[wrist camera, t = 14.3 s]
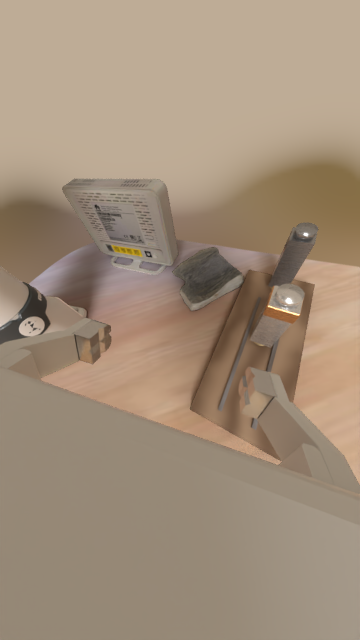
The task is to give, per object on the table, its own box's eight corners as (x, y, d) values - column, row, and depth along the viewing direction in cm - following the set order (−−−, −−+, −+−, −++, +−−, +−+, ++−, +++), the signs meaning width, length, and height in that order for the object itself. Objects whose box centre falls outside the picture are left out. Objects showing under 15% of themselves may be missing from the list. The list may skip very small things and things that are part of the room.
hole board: (190, 409, 29) (189, 408, 27) (247, 275, 43) (249, 267, 41) (276, 458, 24) (283, 462, 22) (309, 290, 38) (316, 282, 36)
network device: (182, 257, 50) (170, 174, 33) (171, 278, 46) (149, 196, 29) (114, 246, 58) (76, 174, 41) (99, 263, 54) (50, 192, 37)
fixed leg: (266, 289, 37) (292, 233, 26) (270, 278, 39) (296, 220, 28) (284, 293, 36) (319, 236, 25) (287, 281, 38) (321, 223, 26)
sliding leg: (248, 342, 31) (270, 299, 20) (253, 325, 33) (277, 278, 22) (269, 349, 30) (305, 309, 19) (274, 332, 32) (310, 285, 21)
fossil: (214, 254, 49) (214, 242, 46) (247, 289, 41) (250, 278, 38) (166, 275, 48) (163, 264, 44) (191, 315, 40) (190, 306, 36)
